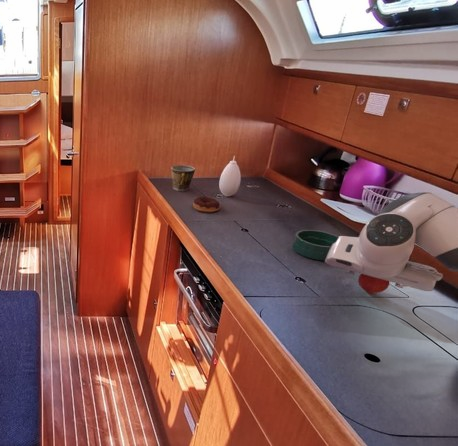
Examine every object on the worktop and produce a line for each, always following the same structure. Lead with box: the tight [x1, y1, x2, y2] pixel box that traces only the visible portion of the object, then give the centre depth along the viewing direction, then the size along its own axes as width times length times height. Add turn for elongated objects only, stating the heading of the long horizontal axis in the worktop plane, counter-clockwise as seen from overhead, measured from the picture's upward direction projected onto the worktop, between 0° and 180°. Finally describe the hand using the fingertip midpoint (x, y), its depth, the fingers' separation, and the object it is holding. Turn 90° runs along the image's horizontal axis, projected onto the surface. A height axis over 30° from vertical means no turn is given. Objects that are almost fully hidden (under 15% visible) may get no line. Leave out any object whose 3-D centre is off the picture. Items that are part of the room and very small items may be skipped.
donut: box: [192, 196, 221, 213], centre depth 158 cm, size 10×10×4 cm
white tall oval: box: [218, 155, 242, 197], centre depth 167 cm, size 8×8×18 cm
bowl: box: [292, 229, 340, 262], centre depth 122 cm, size 12×12×5 cm
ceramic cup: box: [170, 164, 196, 192], centre depth 179 cm, size 13×10×10 cm
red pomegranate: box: [357, 273, 390, 295], centre depth 101 cm, size 6×6×8 cm
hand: (374, 277), depth 101 cm, fingers open, 8 cm apart
